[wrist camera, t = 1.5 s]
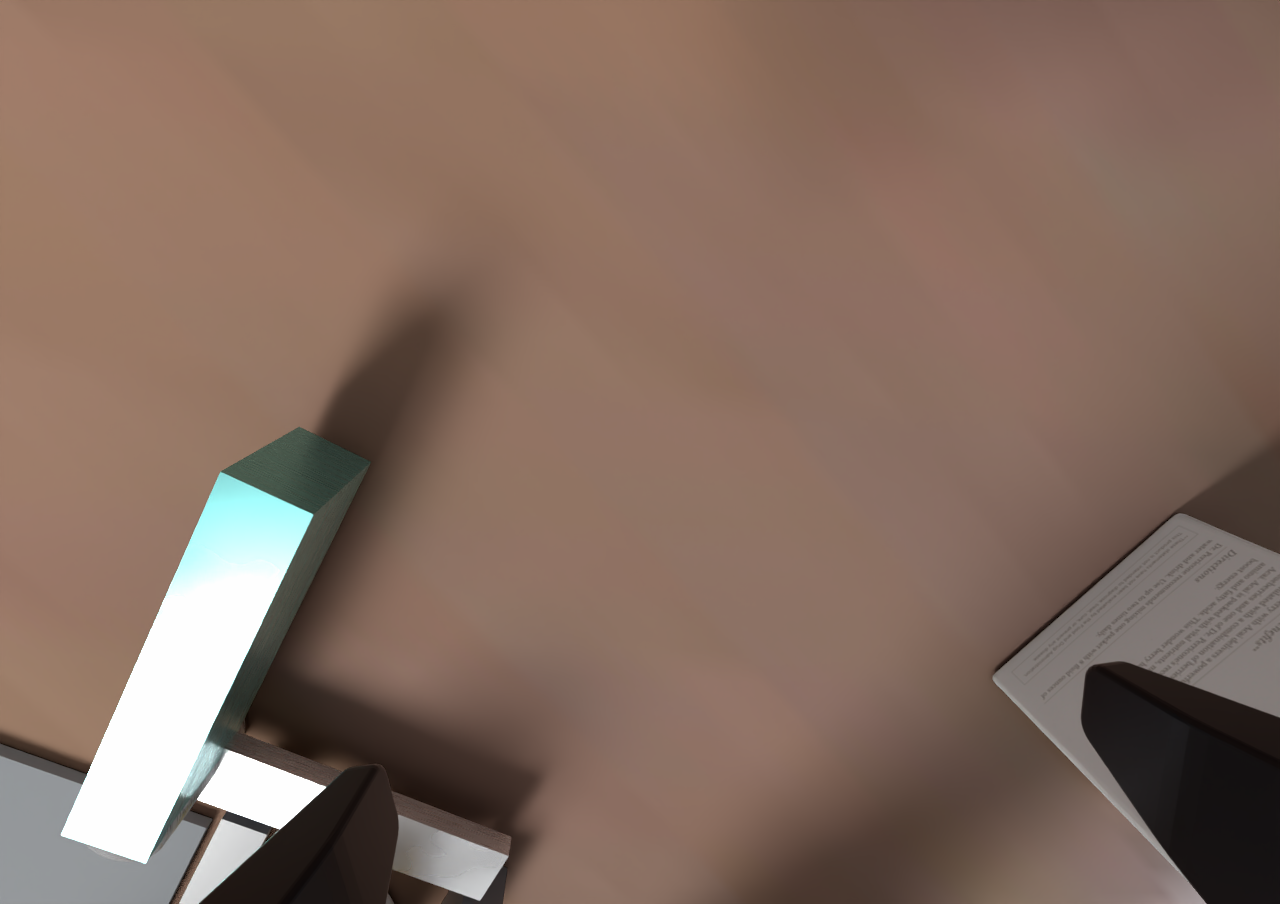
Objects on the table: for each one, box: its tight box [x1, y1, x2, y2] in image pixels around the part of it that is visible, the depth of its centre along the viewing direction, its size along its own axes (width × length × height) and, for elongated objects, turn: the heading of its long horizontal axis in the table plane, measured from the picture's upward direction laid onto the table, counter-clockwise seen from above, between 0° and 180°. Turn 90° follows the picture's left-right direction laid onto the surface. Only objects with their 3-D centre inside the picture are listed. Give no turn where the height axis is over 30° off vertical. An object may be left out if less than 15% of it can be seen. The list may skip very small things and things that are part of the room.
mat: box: [0, 744, 212, 904], centre depth 24 cm, size 9×9×1 cm
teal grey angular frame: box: [61, 427, 511, 901], centre depth 20 cm, size 12×13×5 cm
